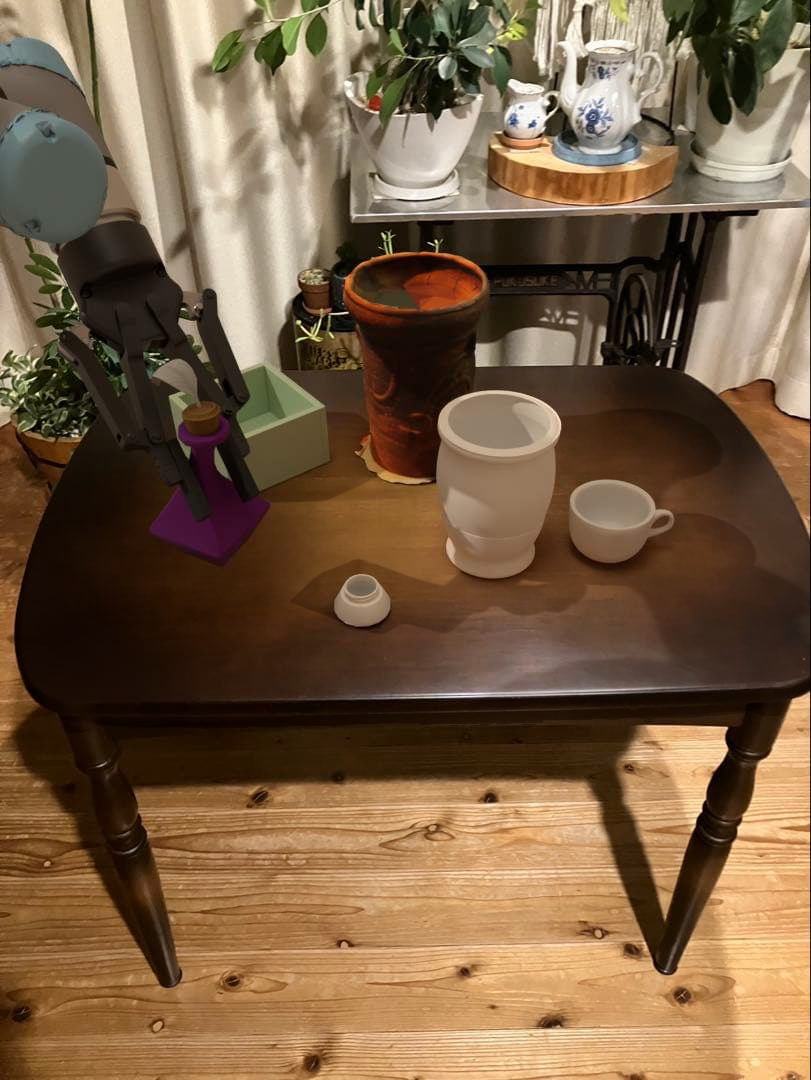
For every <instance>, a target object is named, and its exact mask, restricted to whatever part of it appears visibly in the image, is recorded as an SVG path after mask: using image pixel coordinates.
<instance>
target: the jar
mask: <svg viewBox="0 0 811 1080" xmlns="http://www.w3.org/2000/svg"><path fill="white" fill-rule="evenodd" d="M561 430H562V422H561V418H560V416H559V415H558V413H557V412H556V410H555V409H553V407H551V406H550V405H549V404H547V403H546V402H544V401H543V400H540V399H538V398H536V397H534V396H531V395H528V394H525V393H522V392H516V391H510V390H496V389H495V390H482V391H473V393H470V394H467V395H464V396H461V397H459V398H456V399H455V400H453V401H451V402H450V403H448V404H447V405H446V406H445V407H444V408H443V409H442V411H441V413H440V415H439V419H438V432H439V435H440V437H441V439H442V441H441V444H440V448H439V453H438V460H437V470H436V479H435V480H436V491H437V497H438V498H437V499H438V501H439V506H440V513H441V521H442V523H443V527H444V529H445V532H446V534H447V536H448V537H447V540H446V542H445V543H446V544H445V545H446V546H445V549H446V554H447V556H448V558H449V560H450V561H451V563H452V564H453V565H454V566H455V567H457V569H459V570H461V571H462V572H464V573H466V574H469V575H470V576H474V577H477V578H484V579H504V578H509V577H512V576H515V575H517V574H520V573H522V572H523V571H525V569H527V568H528V567H529V566H530V565H531V564H532V563H533V560H534V558H535V555H536V546H535V544H534V543H535V542H536V541H537V538H538V537H539V535H540V533H541V530H543V529H542V528H543V526H544V523H545V519H546V516H547V512H548V510H549V507H550V504H551V501H552V497H553V494H554V488H555V483H556V482H555V481H556V452H555V446H556V445H557V443H558V442H559V440H560V436H561Z"/></svg>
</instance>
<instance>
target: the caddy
mask: <svg viewBox="0 0 811 1080" xmlns="http://www.w3.org/2000/svg"><path fill="white" fill-rule="evenodd" d="M240 371H241V373H242V376H243V378H244V381H245V383H246V386H247V388H248V390H249V393H250V399H249V401H248V402H247V403H246V404H245V405H244V406H243V407H242V409H241V410H239V411H238V412H237V414H236V418H237V421H238V423H239V425H240V427H241V429H242V431H243V433H244V436H245V438H246V440H247V442H248V444H249V446H250V453H249V454H248V455H247V456H246V457H245V458H244V460H245V462H246V464H247V466H248V468H249V471H250V473H251V475H252V477H253V479H254V481H255V483H256V485H257V487H258V489H259V491H260V492H262V491H263V490H266V489H269V488H271V487H273V486H275V485H277V484H280V483H282V482H285V481H287V480H289V479H291V478H294V477H296V476H300V475H301V474H303V473H306V472H308V471H310V470H312V469H315V468H317V467H319V466H322V465H324V464H326V463H329V462H331V455H330V444H329V431H328V419H327V406H326V405H325V404H323V403H322V402H320V401H319V400H318V399H317V398H316V397H315V396H313V395H312V394H311V393H309V392H308V391H306V390H305V389H304V388H303V387H301V386H300V385H299V384H298V383H296V382H295V381H293V380H292V379H291V378H290V377H288V376H287V375H286V374H284V373H283V372H282V371H281V370H280V369H278V368H277V367H275V366H274V365H273V364H272V363H270V362H269V361H268V360H265V361H262V362H259V363H256V364H254V365H251V366H248V367H246V368H243V369H240ZM213 379H214V380H215V381H216V383H217V384H218V386H219V387H220V389H221V390H222V388H221V386H220V384H219V381H218V379H217V378H213ZM168 400H169V405H170V409H171V410H170V411H171V416H172V419H173V424H174V429H175V433H176V437H177V439H178V441H179V443H180V445H181V447H182V449H183V451H184V453H185V455H186V458H187V460H189V457H190V452H191V447H189V446H185V445H184V444H183V443H182V442H181V441H180V440H179V438H178V426H179V425H180V424H181V423H182V422H183V418H182V411H183V410H184V409H185V408H186V407H188V406H189V405H190V404H193V403H196V400H195V398H194V397H193V396H191V395H188V394H186V393H183V392H181V391H179V392H176V393H173V394H170V395H168ZM214 452H215V465H216V468H217V470H218V471H219V472H220V473H221V474H222V475H223V476H225V477H226V478H228V479H229V480H231V481H232V479H231V477H230V475H229V473H228V471H227V469H226V467H225V465H224V463H223V461H222V459H221V457H220V455H219V452H218V450H217V448H215V451H214Z"/></svg>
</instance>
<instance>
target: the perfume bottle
mask: <svg viewBox="0 0 811 1080" xmlns="http://www.w3.org/2000/svg"><path fill="white" fill-rule="evenodd" d="M150 379H151V383H153V384H154V385H155V386H158V387H160V385H161V382H162V381H163V382H164V383H166V384H168V385H170V386H171V387H173V388H174V389H176V390H178V391H179V392H183V393H186V394H188V395H191V396H193V397H194V398H195V400H196V403H193V404H190V405H189V406H188V407H186V408H185V409H184V410H183V411H182V418H183V422H182V423H181V424H180V425H179V426H178V438H179V440H180V441H181V442H182V443H183V444H184V445H185V446H189V447H191V452H190V457H189V459H188V462H189V464H190V466H191V468H192V470H193V472H194V474H195V476H196V478H197V480H198V482H199V485H200V487H201V489H202V491H203V493H204V495H205V497H206V499H207V501H208V503H209V505H210V507H211V509H212V512H213V514H212V515H210V516H209V517H208V518H207V519H206V520H204V521H201V522H199V523H196V520H195V518H194V516H193V514H192V512H191V510H190V508H189V506H188V504H187V502H186V500H185V498H184V496H183V493H182V491H181V489H180V487H179V485H177V487H176V489H175V491H174V493H173V495H172V496H171V498H170V499H169V501H168V502H167V504H166V505H165V506H164V507H163V509H162V511H160V513H159V514H158V516H157V517H156V519H155V520H154V521H153V522H152V524H151V525H150V527H149V528H148V532H149V533H150V534H151V535H153V536H155V537H156V538H158V539H159V540H162V541H163V542H165V543H167V544H169V545H170V546H172V547H173V548H175V549H177V550H179V551H180V552H183V553H184V554H187V555H189V556H192V557H194V558H196V559H198V560H202V561H203V562H204V561H205V562H207V563H210V564H212V565H215V566H217V567H225V565H226V564H227V563H228V562H229V561H230V560H231V559H232V558H233V557H234V555H235V554H237V552H238V551H239V550H240V549H242V547H243V546H244V545H245V544H246V543H247V542H248V540H250V539H251V537H252V535H253V534H254V532H255V531H256V529H257V528H258V526H259V525H260V523H261V522H262V520H263V519H264V517H265V516H266V515H267V513H268V511H269V510H270V508H271V505H272V504H271V503H270V502H269V501H268V500H266V499H264V498H262V497H260V496H259V495H257V496H256V497H255V498H253V499H252V500H250V501H248V502H246V503H243V502H242V500H241V498H240V496H239V494H238V492H237V490H236V488H235V486H234V484H233V482H232V481H231V480H229V479H228V478H226V477H225V476H223V475H222V474H221V473H220V472H219V471H218V470H217V468H216V465H215V452H214V451H215V448H216V445H217V444H219V443H221V442H224V440H225V439H226V438H227V437H228V435H229V434H230V426H229V422H228V420H227V419H225V418H224V417H223V416H222V415H220V406H218V405H216V404H215V403H213V402H208V401H201V402H199V399H198V396H197V378H196V376H195V374H194V371H193V369H192V368H191V366H190V365H189V364H188V363H187V362H185V361H183V360H181V359H175V360H172V361H170V360H169V361H168V362H166V363H165V364H163V365H161V366H160V367H158V368H157V369H156V370H155V371H154V373H153V374H152V375H151V378H150Z"/></svg>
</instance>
